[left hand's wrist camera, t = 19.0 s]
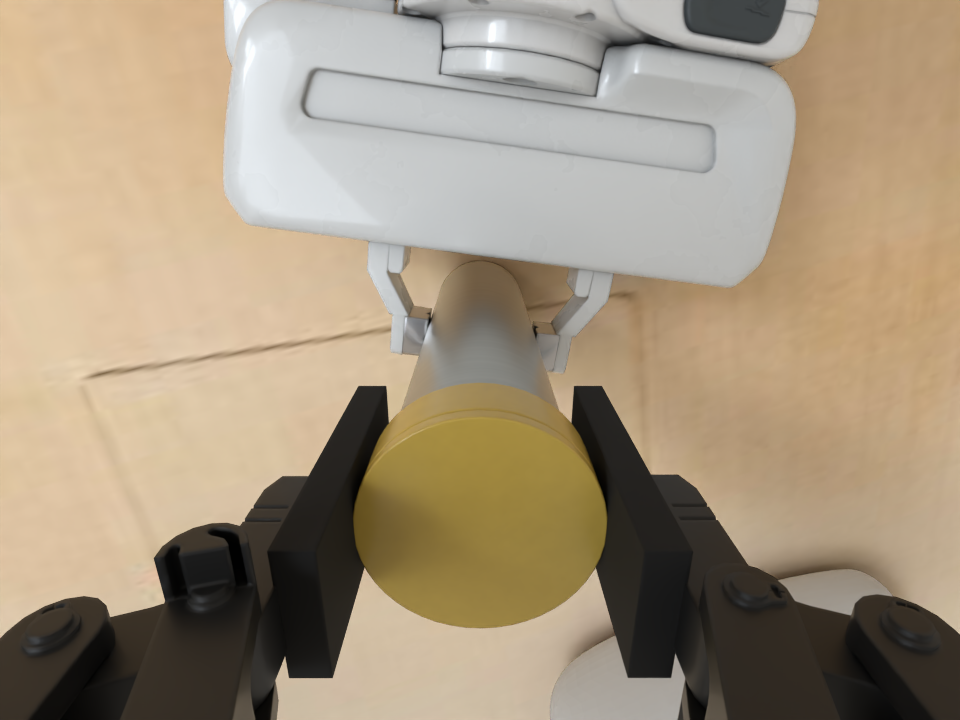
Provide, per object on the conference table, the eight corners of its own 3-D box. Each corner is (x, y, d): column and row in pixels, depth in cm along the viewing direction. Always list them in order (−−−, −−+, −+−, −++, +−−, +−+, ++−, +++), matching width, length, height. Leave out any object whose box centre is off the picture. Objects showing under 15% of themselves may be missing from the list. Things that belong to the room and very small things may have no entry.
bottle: (488, 243, 27) (502, 376, 10) (537, 310, 29) (627, 531, 11) (421, 294, 28) (328, 496, 11) (472, 356, 30) (461, 627, 12)
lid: (327, 501, 12) (304, 552, 11) (456, 335, 11) (451, 365, 9) (499, 603, 13) (502, 664, 12) (637, 465, 12) (661, 511, 10)
